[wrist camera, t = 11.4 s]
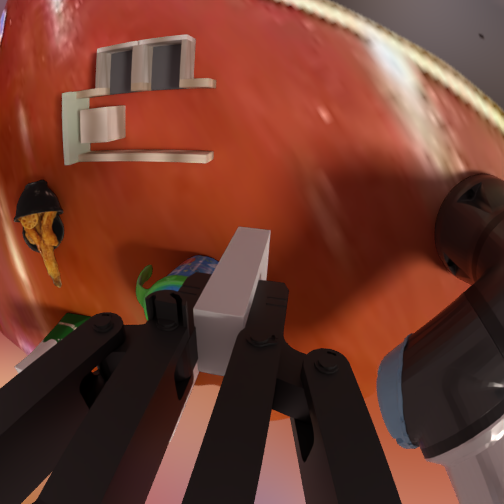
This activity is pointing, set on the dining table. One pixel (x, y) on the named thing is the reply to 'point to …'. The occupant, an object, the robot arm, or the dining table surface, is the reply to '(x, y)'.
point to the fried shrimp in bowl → (41, 223)
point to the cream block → (102, 124)
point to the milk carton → (53, 338)
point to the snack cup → (173, 277)
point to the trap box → (134, 80)
